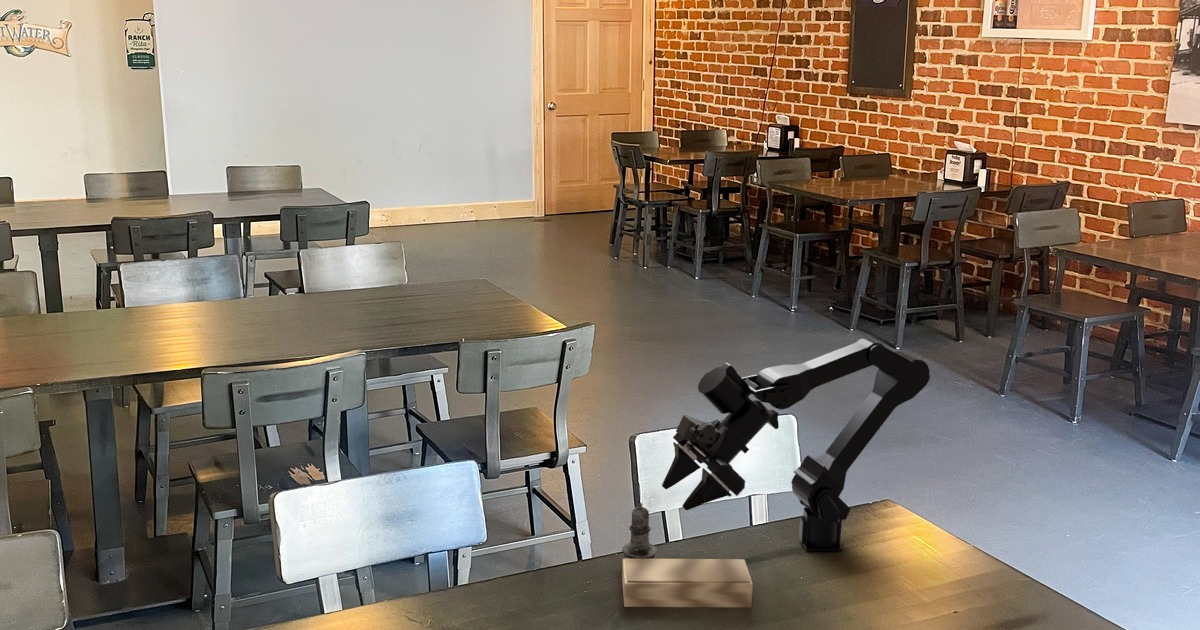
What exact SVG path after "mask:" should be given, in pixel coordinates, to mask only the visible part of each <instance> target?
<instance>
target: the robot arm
mask: <svg viewBox="0 0 1200 630" xmlns="http://www.w3.org/2000/svg"><path fill="white" fill-rule="evenodd" d="M872 366H873V367H876V368H878V369H877V371H876V373H875V376H874V377H875V378H874V384H873V389H872V391H871V392H870V394H868V396H867V397H866V398H865V400H864V401H863V402H862V404H861V405H860V406H859V408H858V409H857V410H856V411H855V412H854V414H853V415H852V416H851V418H850V420H849V421H848V422H847V423H846V425H845V426H844V427H843V428H842V430H841V431H840V433H839V434H838V435H837V436H836V438H834V440H833V441H832V443H831V444H830V446H829V447H828V448H827V449H826V451H825V452H824V453H823V454H821V455H819V456H818V457H817V456H816V457H815V458H814V457H813V456H812V455H810V454H808V455H807V456H805V457H804V459H803V460H802V463H801V464H800V465H799V467H798V468H796V469H795V470H793V473H794V476H793V478H792V479H791V482H790V484H791V489H792V492H793V494H794V495H795V497H797V498H798V500H799V504H800V505H802V506H804V507H803V512H802V513H803V514H802V515H801V516H800V517H799V529H798V530H799V531H798V539H799V540H800V542H801V544H802V545H803V547H804V549H805V550H806V551H807V552H842V551H843V549H844V548H843V546H842V544H841V539H842V538H841V537H842V536H841V535H842V525H843V524H842V523H843V521H845V520H847V518H848V516H849V513H850V511H851V508H850V506H848V505H847V503H845V502H844V501H843V500H842V499H841V498H840V495H841V494H842V493H843V490H844V488H845V484H846V477H847V472H848V471H849V469H850V468H851V467H852V465H853V464H854V462H855V461H856V460H857V458H858V457H859V456H860V454H862V452H863V451H864V450H865V449H866V447H867V446H868V444H869V443H870V441H872V439H873V438H874V437H875V435H876V434H877V433H878V431H880V429H881V428H882V426H883V425H884V424H885V422H886V420H888V418H889V417H890V416H891V415H892V413H893V412H894V411H895V410H896V408H897V407H899V406H901V405H902V404H904V403H906V402H908V401H910V400H912V399H915V397H916V396H917V395H918V394H919V393H920V392H921V391H922V390H923V389H924V388H925V387H926V386H927V385H928V383H929V381H930V378H931V375H930V368H929V365H928V364H927V363H926V362H925V361H924V360H922V359H920V358H917V357H915V356H913V355H911V354H909V353H906V352H905V351H901V350H896V351H892V350H891V349H889V348H887V347H885V345H884V344H882V343H880V342H878V341H876V340H874V339H872V338H869V337H864V338H859V339H858V340H857V341H856V342H854V343H851V344H849V345H846V346H843V347H840V348H839V349H836V350H833V351H829V352H828V353H825V354H823V355H820V356H818V357H816V358H813V359H810V360H807V361H805V362H803V363H796V364H781V365H776V366H775V365H774V366H770V367H769V366H768V367H765V368H763V369H762V370H760V371H759V372H758V373H757V374H752V375H748V376H743V377H741V375H740V374H738V373H737V370H736V369H735V368H734V366H733V365H731V364H730V363H728V362H724V364H722V365H721V366H718V367H716V368H713V369H711V370H710V371H709V372H706V373H705V374H704V375H703V376H702V377H701V379H700V381H699V382H698V384H697V390H698V392H699V393H700V394H701V396H703V397H704V398H705V399H706V400H707V402H709V404H711V405H712V406H713V407H714V409H716V410H717V412H719V413H720V414H722V415H723V414H725V415H726V414H727V415H726V416H725V417H724V418H723V419H722V420H721V421H720V420H718V419H716V420H713V421H712V422H711V423H708V422H707V421H705V420H704V421H702V420H699V419H697V418H694V417H692V416H688V415H686V414H682V418H681V419H680V421H679V423H678V426H677V428H676V429H675V432H676V433H675V434H674V435H673V436H672V438H673V439H674V440H675V441H676V442H675V441H673V443H672V445H673V447H674V458H673V460H672V463H671V465H670V467H669V469H668V471H667V472H666V473H667V474H666V475H665V477H664V479H663V482H662V484H661V487H662V488H663V489H665V490H668V489H670V488H671V487H673V486H675V485H676V484H678V483H679V482H682V481H683V480H684V479H685V478H687V477H688V476H690V475H692V474H693V473H694V472H696V471H698V470H699V469H701V466H700V465H699V464H705V465H706V466H707V467H706V469H707V470H706V469H705V468H704V467H702V470H701V480H700V481H699V483H698V484H697V485H696V487H694V489H693V490H692V491H691V493H690V494H689V496H688V497H686V500H684V502H683V504H682V505H681V506H682V507H681V508H683V509H684V510H685V511H689V510H692V509H695V508H697V507H699V506H703V505H704V504H707V503H709V502H712V501H716V500H718V499H721V498H724V497H729V498H730V497H732V495H733V494H734V496H736V497H738V496H739V495H740V494H741V493H742V492H743V491H744V490H745V488H746V479H744V478H743V477H742V476H741V475H740V474H739V473H738V472H737V471H736V470H735V469H734V468H733V466H732V465H731V462H732V461H734V459H735V458H736V457H737V456H738V454H739V453H740V452H743V454H747V453H748V451H750V448H749V447H748V446H747V445H748V444H749V443H750V442H751V441H752V439H754V438H755V436H756V435H757V434H759V432H760V431H761V430H762V429H763V428H764V427H765V426H766V425H769V426H770V427H772V428H773V429H775V430H778V429H779V412H778V411H776V410H774V409H773V408H775V409H777V410H788V409H790V408H791V407H793V406H795V405H796V404H797V403H799V402H801V401H803V400H804V399H805V398H806V397H807V396H808V395H809V393H810V392H812V390H815V389H816V388H818V387H821V386H823V385H826V384H829V383H830V382H831V383H832V382H833V381H836V380H839V379H841V378H844V377H846V376H849V375H851V374H853V373H856V372H859V371H862V370H863V369H866V368H869V367H872ZM750 395H751V396H752V397H753V398H755V399H753V400H752V399H751V398H750ZM756 399H757V400H756ZM764 403H765V404H768V405H770V406H771V407H773V408H772V409H769V408H767V406H766V405H764ZM698 463H699V464H698ZM708 470H709V471H710V472H708ZM730 492H731V493H733V494H731V493H730Z"/></svg>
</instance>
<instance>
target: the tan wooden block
mask: <svg viewBox="0 0 1200 630" xmlns="http://www.w3.org/2000/svg"><path fill="white" fill-rule="evenodd" d="M621 573H622V575H621V576H622V577H621V580H622V581H621V582H622V593H623V594H622V595H623V605H624V606H623V607H626V608H627V607H628V608H629V607H631V608H632V607H633V608H642V607H643V608H752V600H753V599H752V598H753V580H752V578H751V574H750V572H749V569H748V566H747V563H746V560H745V559H744V558H742V559H741V558H740V559H739V558H736V559H735V558H734V559H733V558H654V559H627V558H625V557H624V558H622V571H621Z"/></svg>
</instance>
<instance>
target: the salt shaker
mask: <svg viewBox="0 0 1200 630" xmlns="http://www.w3.org/2000/svg"><path fill="white" fill-rule="evenodd" d="M643 505H644V504H643V503H642V502H639V503H638V506H636V507H634V508H633V509H632V512H631V525H630V526H629V527H628V528H629V530H630V541H629V542H628V543H626V544H624V545H623V546H622V547H621V551H622V553H623V556H624V559H625V558H627V559H655V556H656V554H657V553H658V548H657V547H656V546H655V545H654V544H652V543H650V537H649V536H650V531H651V530H652V529H651V526H650V525H649V524H650V523H649V521H650V518H649V517H650V511H649V510H648V508H646V507H644V506H643Z"/></svg>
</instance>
